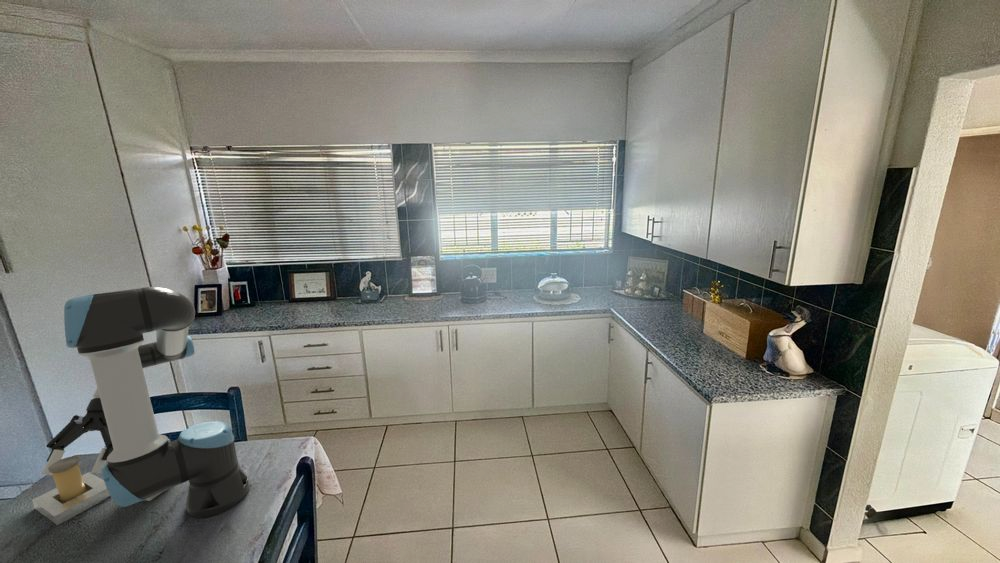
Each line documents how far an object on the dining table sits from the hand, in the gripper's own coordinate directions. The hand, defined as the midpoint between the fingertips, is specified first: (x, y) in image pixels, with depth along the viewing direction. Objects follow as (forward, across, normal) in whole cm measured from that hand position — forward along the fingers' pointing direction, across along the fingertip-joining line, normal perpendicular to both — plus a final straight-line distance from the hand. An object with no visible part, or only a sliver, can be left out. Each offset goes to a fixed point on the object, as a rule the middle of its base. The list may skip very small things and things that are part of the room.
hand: (71, 473), depth 111 cm
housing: (+7, -1, -4) cm, 8 cm away
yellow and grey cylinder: (+7, -1, -5) cm, 8 cm away
